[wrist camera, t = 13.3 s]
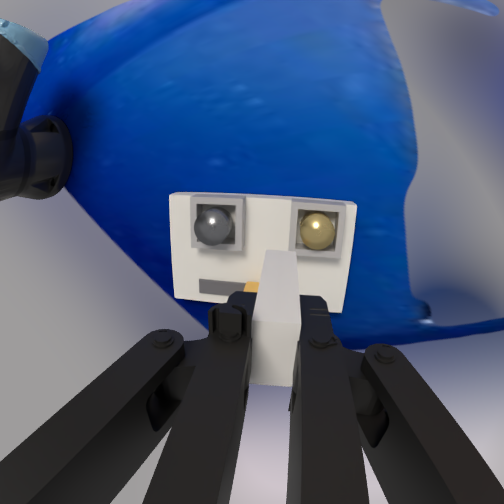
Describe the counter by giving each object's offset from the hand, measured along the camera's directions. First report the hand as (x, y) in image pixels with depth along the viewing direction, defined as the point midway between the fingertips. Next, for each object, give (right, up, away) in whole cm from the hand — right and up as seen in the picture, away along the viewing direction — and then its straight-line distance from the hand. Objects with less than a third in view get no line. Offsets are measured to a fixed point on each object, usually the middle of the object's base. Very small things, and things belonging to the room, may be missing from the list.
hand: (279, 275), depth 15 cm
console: (0, +2, +27) cm, 27 cm away
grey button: (-6, +5, +21) cm, 22 cm away
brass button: (+6, +4, +21) cm, 22 cm away
